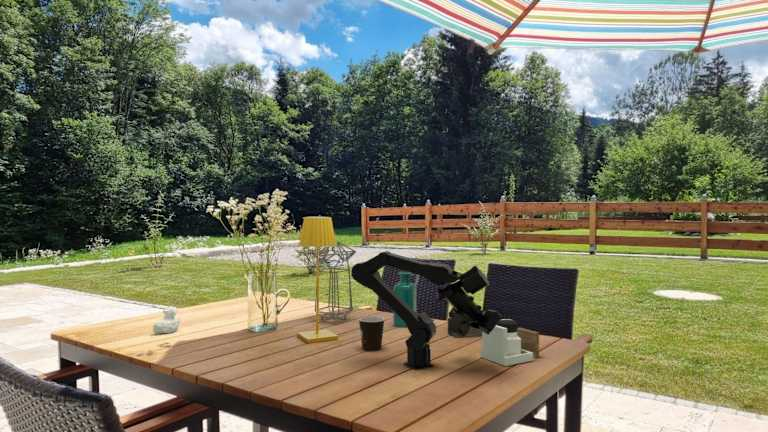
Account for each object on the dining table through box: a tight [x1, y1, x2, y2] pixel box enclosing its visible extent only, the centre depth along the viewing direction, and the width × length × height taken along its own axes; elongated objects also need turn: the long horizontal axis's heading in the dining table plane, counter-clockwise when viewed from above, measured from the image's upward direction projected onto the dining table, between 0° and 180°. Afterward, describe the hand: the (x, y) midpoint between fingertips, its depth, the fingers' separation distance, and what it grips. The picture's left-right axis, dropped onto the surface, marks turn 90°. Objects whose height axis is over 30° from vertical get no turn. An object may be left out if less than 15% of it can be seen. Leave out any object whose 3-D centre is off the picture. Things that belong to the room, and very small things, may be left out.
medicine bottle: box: [498, 318, 521, 357], centre depth 157 cm, size 7×7×12 cm
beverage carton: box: [447, 317, 498, 339], centre depth 189 cm, size 8×19×7 cm, turn 106°
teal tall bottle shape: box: [392, 271, 420, 328], centre depth 204 cm, size 10×8×22 cm
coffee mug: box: [358, 316, 385, 352], centre depth 170 cm, size 12×9×10 cm
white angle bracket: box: [479, 325, 534, 367], centre depth 157 cm, size 12×12×11 cm
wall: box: [517, 327, 540, 360], centre depth 161 cm, size 2×8×8 cm, turn 30°
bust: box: [152, 305, 181, 335], centre depth 191 cm, size 12×8×11 cm
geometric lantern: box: [309, 239, 357, 324], centre depth 211 cm, size 16×16×35 cm
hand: (488, 333), depth 153 cm, fingers closed
